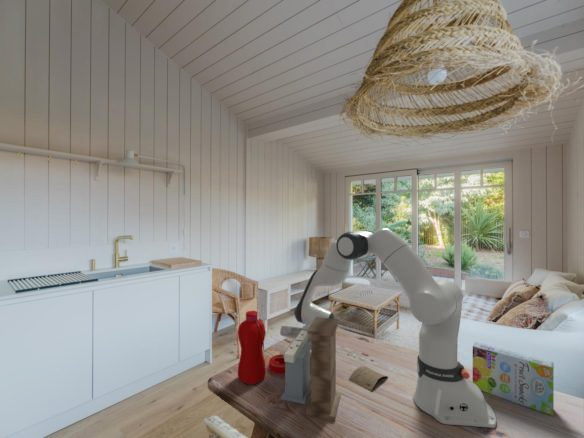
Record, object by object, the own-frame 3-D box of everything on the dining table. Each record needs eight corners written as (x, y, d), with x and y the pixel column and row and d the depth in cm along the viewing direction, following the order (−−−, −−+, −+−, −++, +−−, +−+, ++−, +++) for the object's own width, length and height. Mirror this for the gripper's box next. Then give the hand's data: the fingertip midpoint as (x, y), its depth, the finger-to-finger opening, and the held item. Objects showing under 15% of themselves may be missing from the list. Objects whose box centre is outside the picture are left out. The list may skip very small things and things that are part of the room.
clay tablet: (370, 394, 97) (370, 387, 97) (346, 382, 104) (346, 375, 104) (389, 377, 107) (389, 370, 107) (366, 367, 114) (366, 360, 114)
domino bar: (310, 335, 108) (310, 329, 108) (293, 362, 88) (293, 354, 88) (302, 334, 109) (302, 328, 109) (284, 361, 89) (284, 353, 89)
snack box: (553, 408, 89) (553, 360, 89) (553, 417, 85) (553, 367, 85) (475, 381, 104) (475, 340, 104) (471, 388, 100) (471, 345, 99)
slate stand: (313, 383, 102) (313, 342, 102) (304, 404, 91) (304, 358, 91) (292, 379, 105) (292, 339, 105) (281, 399, 93) (281, 354, 93)
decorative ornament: (296, 364, 116) (296, 357, 116) (286, 376, 107) (286, 368, 107) (276, 359, 120) (276, 352, 120) (264, 370, 111) (264, 362, 111)
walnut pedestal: (340, 396, 95) (340, 319, 95) (335, 421, 83) (335, 333, 83) (314, 391, 98) (314, 316, 97) (305, 414, 86) (305, 330, 86)
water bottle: (254, 390, 98) (253, 319, 98) (234, 379, 105) (234, 312, 105) (272, 379, 105) (272, 312, 105) (252, 368, 112) (252, 306, 112)
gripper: (286, 325, 119) (276, 318, 107) (335, 331, 113) (330, 325, 101) (284, 341, 116) (273, 336, 104) (334, 348, 110) (328, 343, 98)
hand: (302, 330), depth 103 cm, fingers open, 8 cm apart
